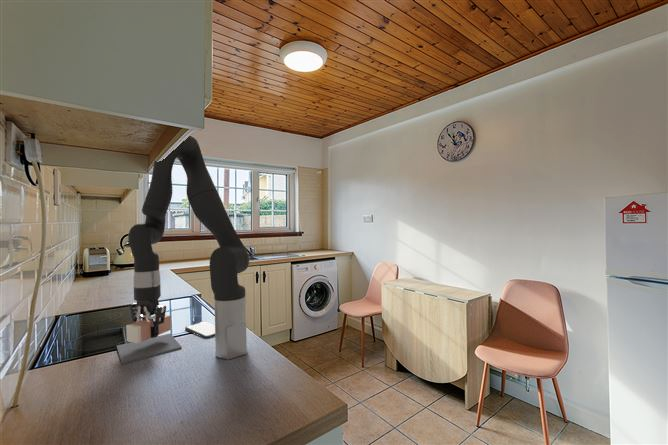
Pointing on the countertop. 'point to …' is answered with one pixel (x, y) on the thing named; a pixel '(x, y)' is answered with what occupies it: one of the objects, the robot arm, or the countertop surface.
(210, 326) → the phone case
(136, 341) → the terracotta block
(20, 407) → the countertop surface
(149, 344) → the charcoal mat
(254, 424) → the countertop surface
